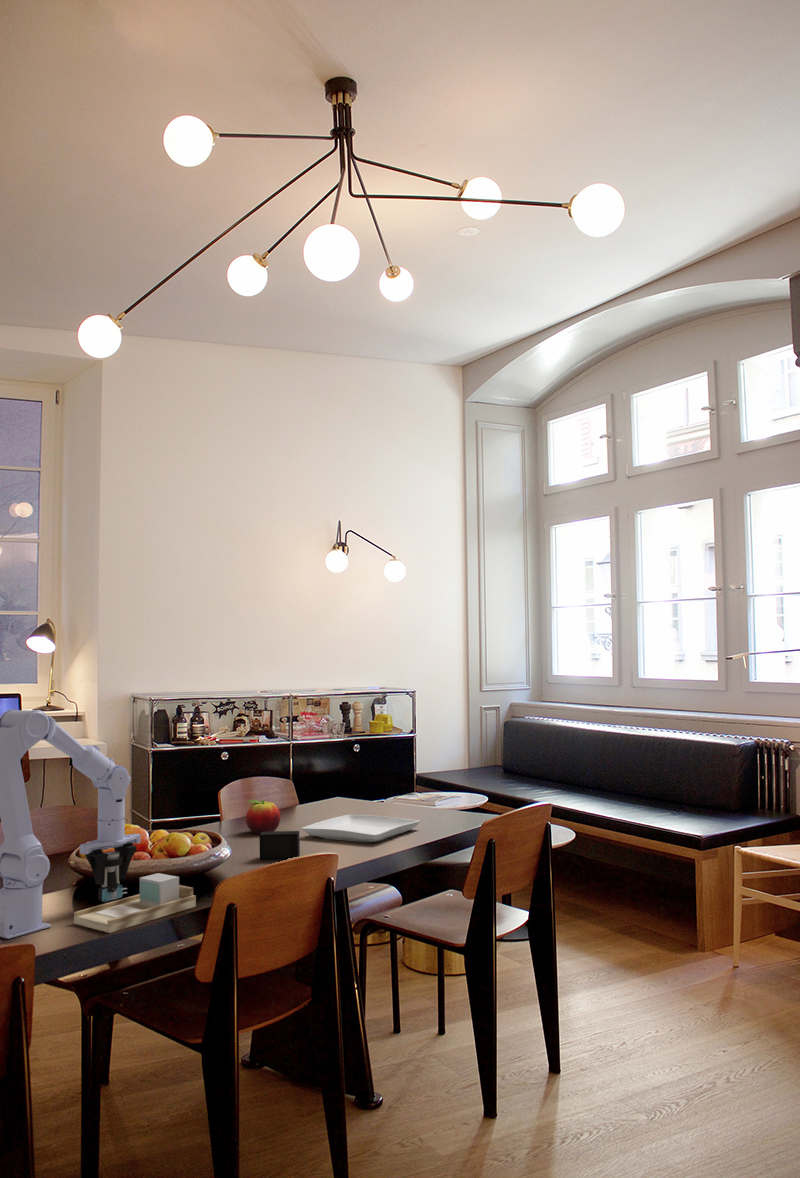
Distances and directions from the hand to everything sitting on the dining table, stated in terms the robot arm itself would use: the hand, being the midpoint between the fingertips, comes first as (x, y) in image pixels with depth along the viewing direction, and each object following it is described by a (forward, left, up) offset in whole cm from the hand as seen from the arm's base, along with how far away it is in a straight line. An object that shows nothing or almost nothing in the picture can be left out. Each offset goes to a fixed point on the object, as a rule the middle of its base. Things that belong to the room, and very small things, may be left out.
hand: (110, 881), depth 195 cm
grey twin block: (+4, -12, -4) cm, 13 cm away
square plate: (+91, +1, -6) cm, 91 cm away
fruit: (+78, +30, -5) cm, 84 cm away
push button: (+1, 0, -4) cm, 4 cm away
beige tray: (-2, -12, -5) cm, 13 cm away
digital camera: (+54, 0, -5) cm, 54 cm away
